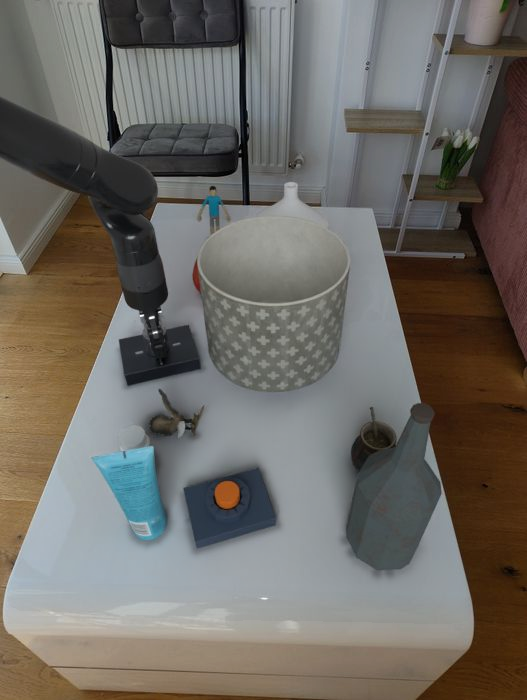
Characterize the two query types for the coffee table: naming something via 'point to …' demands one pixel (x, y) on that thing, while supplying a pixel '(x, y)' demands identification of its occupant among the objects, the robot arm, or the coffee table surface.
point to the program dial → (147, 341)
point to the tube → (135, 489)
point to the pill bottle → (133, 438)
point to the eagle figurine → (173, 420)
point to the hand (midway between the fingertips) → (158, 347)
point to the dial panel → (148, 368)
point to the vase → (294, 207)
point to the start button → (227, 494)
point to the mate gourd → (372, 441)
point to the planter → (273, 301)
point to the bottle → (394, 498)
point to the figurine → (213, 209)
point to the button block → (233, 522)
